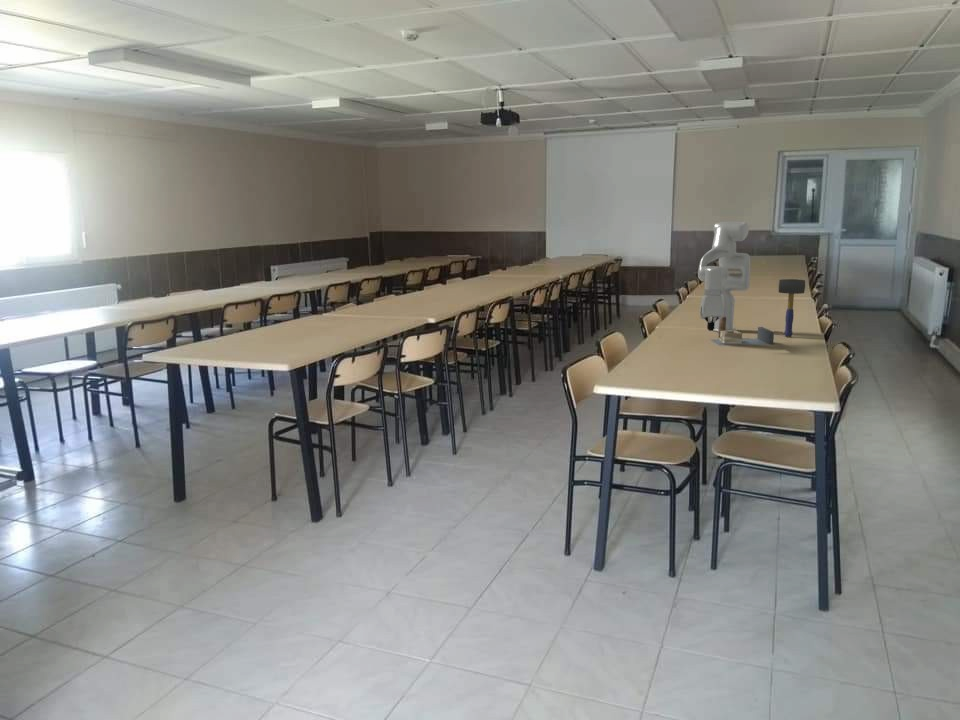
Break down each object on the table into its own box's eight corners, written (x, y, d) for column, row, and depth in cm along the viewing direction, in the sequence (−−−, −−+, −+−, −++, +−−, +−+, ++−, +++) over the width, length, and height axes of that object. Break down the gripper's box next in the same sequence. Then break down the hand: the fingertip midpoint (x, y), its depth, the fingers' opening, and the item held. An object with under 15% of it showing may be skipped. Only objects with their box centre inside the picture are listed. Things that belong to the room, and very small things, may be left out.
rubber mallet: (801, 336, 365) (805, 278, 359) (801, 338, 358) (805, 280, 352) (775, 335, 370) (779, 278, 364) (774, 337, 363) (778, 279, 357)
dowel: (717, 339, 361) (718, 316, 359) (723, 339, 361) (725, 316, 359) (719, 340, 358) (720, 317, 356) (725, 340, 358) (727, 317, 356)
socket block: (719, 340, 351) (720, 330, 350) (735, 340, 351) (736, 330, 349) (725, 343, 343) (725, 333, 342) (741, 343, 343) (742, 333, 342)
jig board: (709, 342, 354) (710, 327, 353) (761, 341, 354) (762, 326, 353) (719, 348, 340) (719, 333, 338) (772, 347, 339) (774, 332, 338)
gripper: (725, 292, 345) (723, 329, 349) (694, 292, 345) (693, 329, 349) (730, 293, 338) (728, 331, 341) (699, 294, 338) (697, 331, 341)
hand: (710, 330), depth 345 cm, fingers closed
